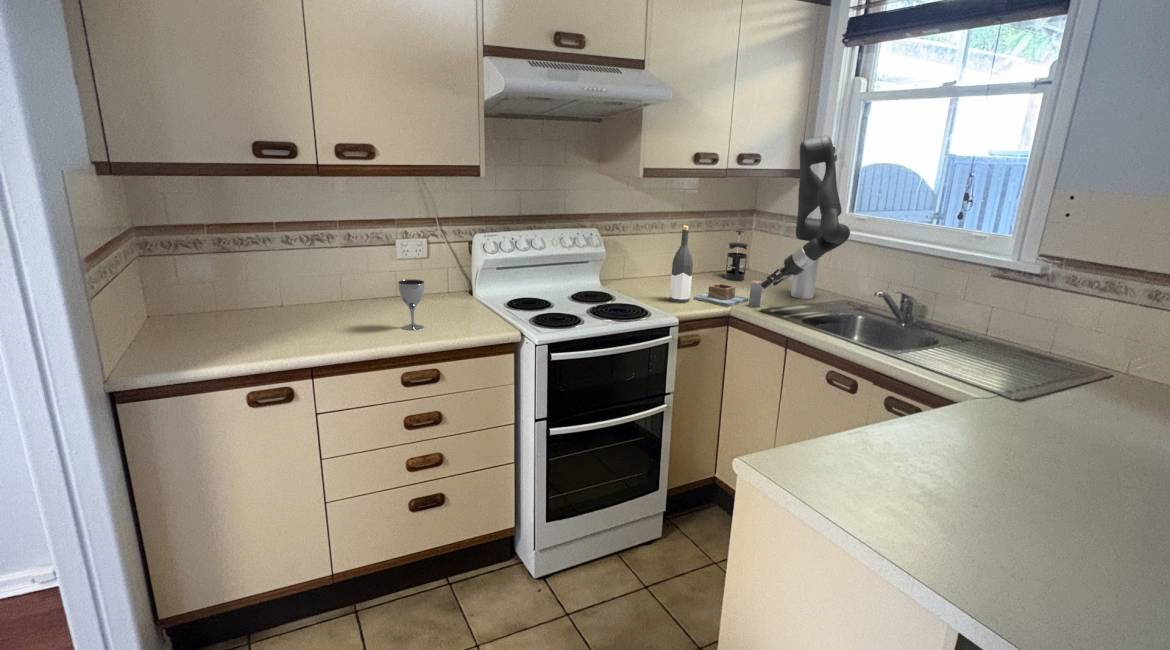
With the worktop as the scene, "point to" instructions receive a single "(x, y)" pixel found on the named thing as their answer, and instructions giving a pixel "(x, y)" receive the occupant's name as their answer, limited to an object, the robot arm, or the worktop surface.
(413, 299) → the wine glass
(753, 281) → the grey cylinder
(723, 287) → the socket
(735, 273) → the french press
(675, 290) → the wine bottle
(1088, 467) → the worktop surface
